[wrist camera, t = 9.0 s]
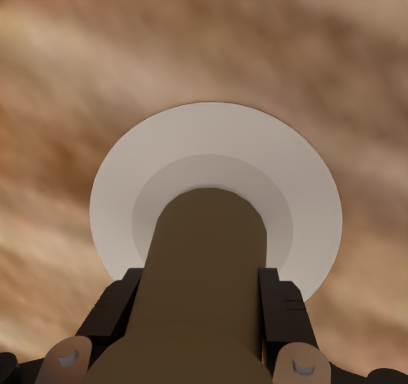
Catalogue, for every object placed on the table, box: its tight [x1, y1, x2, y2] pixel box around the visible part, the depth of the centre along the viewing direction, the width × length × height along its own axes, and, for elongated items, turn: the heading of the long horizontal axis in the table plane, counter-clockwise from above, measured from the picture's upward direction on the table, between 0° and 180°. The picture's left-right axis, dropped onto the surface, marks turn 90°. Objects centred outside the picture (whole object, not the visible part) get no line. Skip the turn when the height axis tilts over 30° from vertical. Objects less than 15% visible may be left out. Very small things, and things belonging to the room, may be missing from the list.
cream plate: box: [89, 102, 342, 302], centre depth 16 cm, size 14×14×1 cm
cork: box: [80, 187, 273, 384], centre depth 10 cm, size 6×6×11 cm
